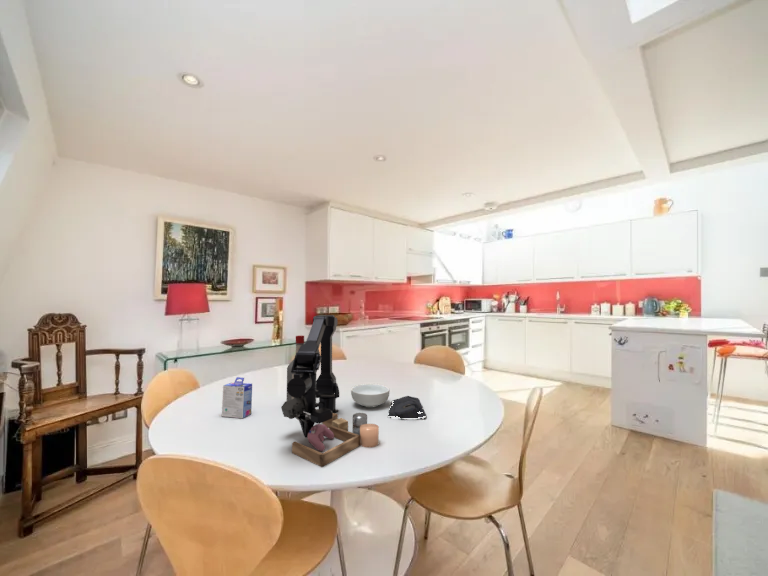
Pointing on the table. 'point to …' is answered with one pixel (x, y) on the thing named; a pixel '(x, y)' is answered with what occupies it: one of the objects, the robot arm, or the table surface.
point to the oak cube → (340, 423)
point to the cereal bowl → (370, 394)
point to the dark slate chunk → (406, 408)
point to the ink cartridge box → (237, 399)
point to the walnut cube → (329, 422)
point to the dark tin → (358, 422)
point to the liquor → (291, 375)
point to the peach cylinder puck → (369, 435)
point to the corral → (333, 453)
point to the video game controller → (319, 436)
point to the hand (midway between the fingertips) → (306, 437)
